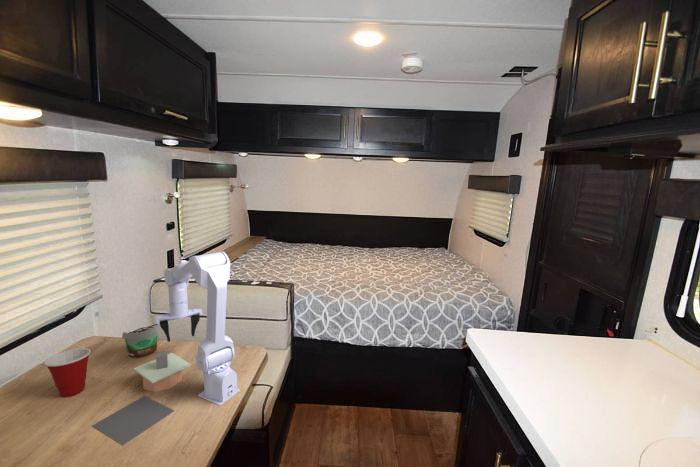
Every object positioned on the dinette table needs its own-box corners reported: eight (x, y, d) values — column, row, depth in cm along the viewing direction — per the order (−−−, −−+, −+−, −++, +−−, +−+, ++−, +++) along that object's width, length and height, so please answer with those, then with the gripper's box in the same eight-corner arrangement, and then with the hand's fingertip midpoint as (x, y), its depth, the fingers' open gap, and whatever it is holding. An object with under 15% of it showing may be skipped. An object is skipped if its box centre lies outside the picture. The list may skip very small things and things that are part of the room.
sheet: (190, 365, 108) (190, 352, 107) (152, 383, 98) (150, 369, 97) (171, 354, 114) (171, 341, 114) (133, 370, 105) (132, 356, 104)
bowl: (189, 376, 110) (188, 362, 109) (162, 395, 100) (161, 380, 99) (164, 370, 113) (163, 356, 113) (136, 388, 103) (134, 373, 103)
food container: (130, 363, 117) (128, 337, 115) (123, 357, 120) (121, 332, 119) (166, 350, 126) (164, 325, 125) (159, 345, 130) (157, 321, 129)
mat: (174, 411, 93) (174, 410, 93) (122, 446, 81) (122, 445, 81) (144, 396, 99) (144, 395, 99) (91, 427, 87) (91, 425, 87)
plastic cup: (89, 376, 109) (85, 342, 107) (99, 389, 102) (95, 354, 100) (45, 392, 101) (40, 355, 99) (52, 407, 94) (47, 369, 92)
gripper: (199, 294, 121) (201, 328, 123) (153, 301, 113) (156, 338, 115) (202, 299, 115) (204, 336, 117) (154, 308, 107) (157, 346, 109)
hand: (181, 337), depth 116 cm, fingers open, 7 cm apart
